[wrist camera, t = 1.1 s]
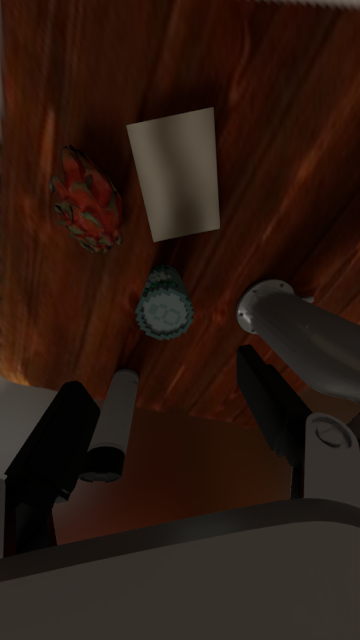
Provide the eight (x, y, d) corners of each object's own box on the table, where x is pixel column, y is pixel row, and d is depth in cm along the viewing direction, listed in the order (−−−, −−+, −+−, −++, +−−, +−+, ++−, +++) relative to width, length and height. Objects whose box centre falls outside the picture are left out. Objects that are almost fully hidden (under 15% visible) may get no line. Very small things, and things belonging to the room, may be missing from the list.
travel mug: (141, 369, 40) (124, 473, 23) (136, 387, 43) (117, 491, 25) (115, 365, 39) (76, 472, 21) (112, 383, 42) (74, 491, 24)
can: (156, 258, 28) (150, 278, 15) (185, 274, 30) (203, 304, 17) (143, 288, 31) (127, 327, 18) (171, 301, 33) (176, 346, 19)
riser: (205, 128, 21) (213, 107, 18) (212, 229, 27) (219, 228, 24) (132, 143, 21) (126, 125, 18) (155, 241, 27) (153, 242, 24)
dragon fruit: (109, 257, 29) (92, 175, 25) (144, 252, 25) (129, 152, 21) (57, 258, 22) (21, 146, 18) (91, 251, 18) (54, 103, 14)
